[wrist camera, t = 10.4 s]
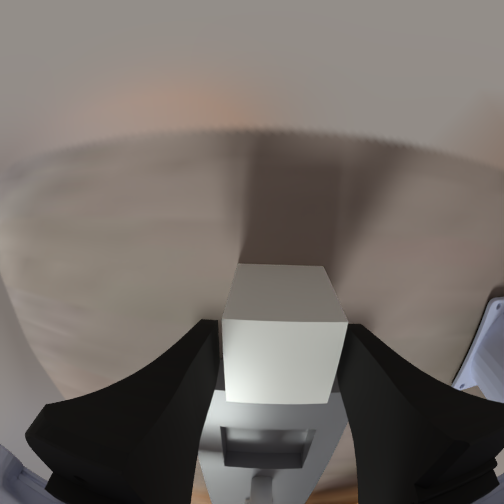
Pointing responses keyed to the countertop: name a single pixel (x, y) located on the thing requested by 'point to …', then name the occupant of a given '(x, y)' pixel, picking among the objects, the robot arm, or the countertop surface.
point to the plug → (281, 335)
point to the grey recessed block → (267, 447)
